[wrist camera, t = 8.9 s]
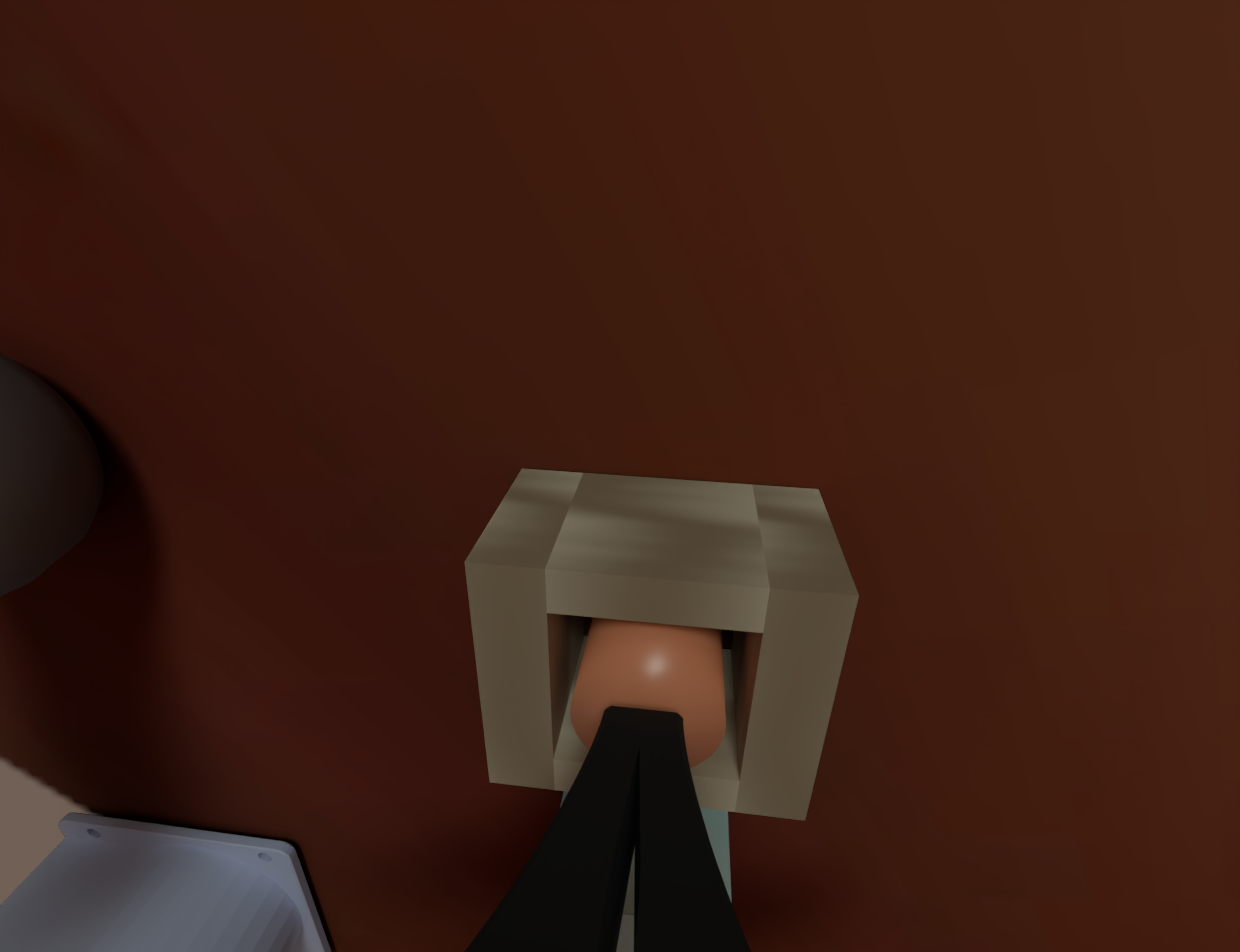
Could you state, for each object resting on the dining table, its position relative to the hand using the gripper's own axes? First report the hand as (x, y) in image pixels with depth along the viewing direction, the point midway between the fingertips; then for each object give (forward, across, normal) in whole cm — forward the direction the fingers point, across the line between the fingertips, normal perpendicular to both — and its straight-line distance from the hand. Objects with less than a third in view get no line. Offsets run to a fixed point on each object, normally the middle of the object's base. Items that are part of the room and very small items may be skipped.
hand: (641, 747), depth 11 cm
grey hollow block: (+5, 0, 0) cm, 5 cm away
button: (+5, 0, 0) cm, 5 cm away
